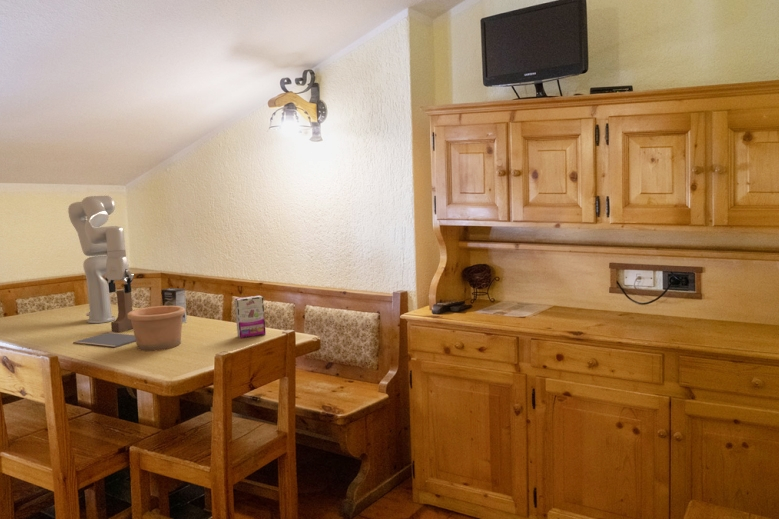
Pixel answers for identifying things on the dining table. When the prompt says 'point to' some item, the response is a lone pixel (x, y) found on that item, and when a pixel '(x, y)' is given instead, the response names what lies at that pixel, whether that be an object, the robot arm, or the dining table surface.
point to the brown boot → (123, 312)
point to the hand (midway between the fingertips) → (120, 292)
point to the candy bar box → (250, 316)
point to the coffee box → (174, 299)
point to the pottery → (157, 327)
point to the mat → (108, 340)
